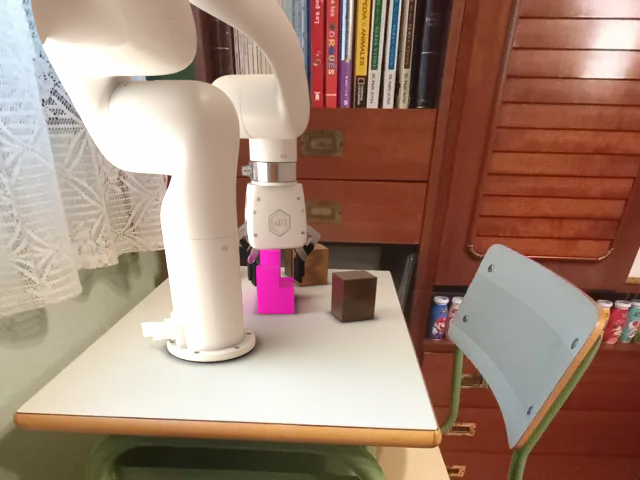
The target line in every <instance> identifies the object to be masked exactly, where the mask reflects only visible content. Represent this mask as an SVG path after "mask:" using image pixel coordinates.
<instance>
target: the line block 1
mask: <svg viewBox="0 0 640 480" xmlns="http://www.w3.org/2000/svg"><path fill="white" fill-rule="evenodd" d="M309 238H310V237H307V242H308V240H309ZM317 244H319V241H318V242H317ZM283 254H284V255H283V256H284V257H283V259H284V260H283V261H284V262H283V263H284V264H283V265H284V273H285V275H287V277H293V248H288V249H283Z"/></svg>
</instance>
